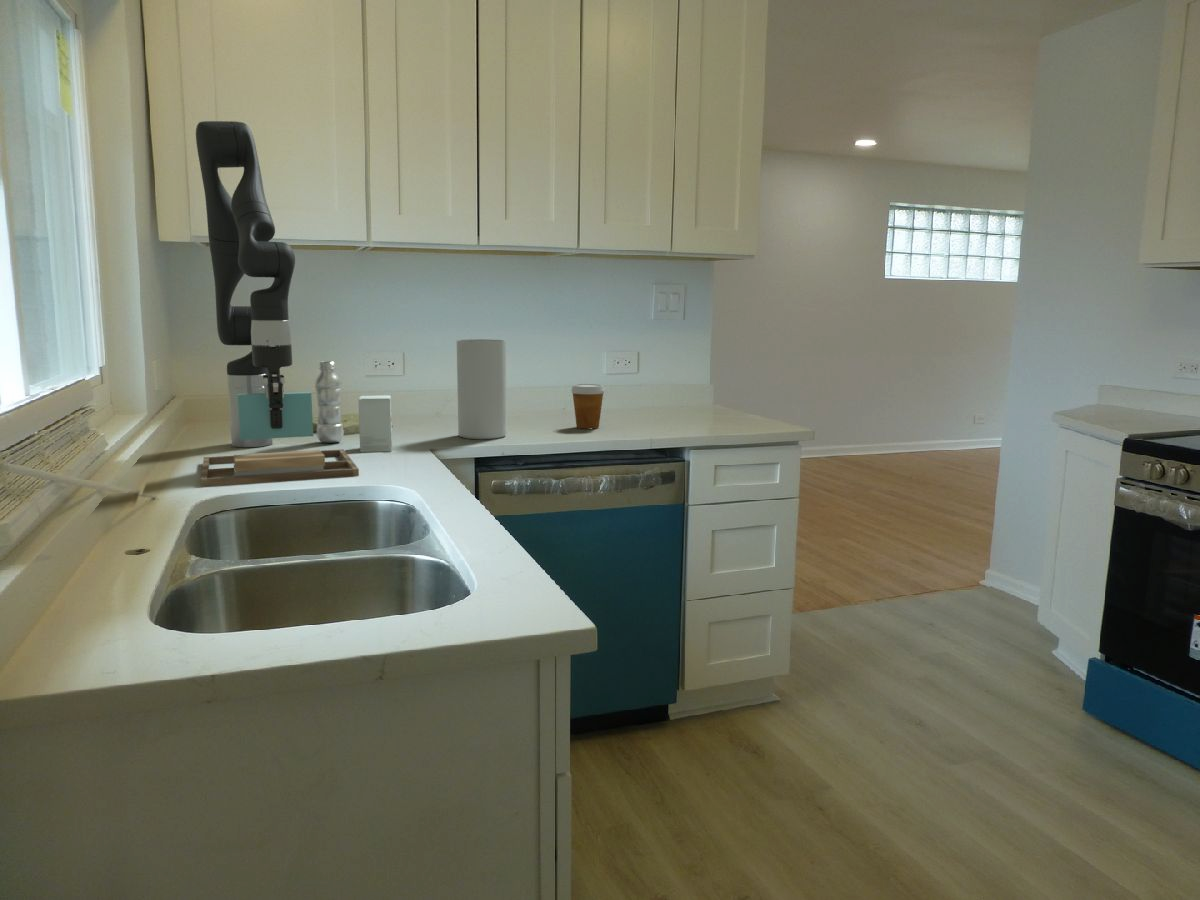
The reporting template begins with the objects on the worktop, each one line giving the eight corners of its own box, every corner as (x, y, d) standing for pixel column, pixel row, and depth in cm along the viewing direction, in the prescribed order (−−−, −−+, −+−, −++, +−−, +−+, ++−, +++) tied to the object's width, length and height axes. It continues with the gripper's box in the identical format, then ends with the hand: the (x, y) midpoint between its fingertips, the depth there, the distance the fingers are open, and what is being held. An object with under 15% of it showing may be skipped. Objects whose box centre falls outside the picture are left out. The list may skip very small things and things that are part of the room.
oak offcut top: (234, 465, 166) (233, 455, 165) (320, 459, 172) (319, 449, 172) (235, 471, 160) (235, 461, 159) (325, 465, 166) (324, 455, 166)
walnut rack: (204, 469, 178) (203, 457, 178) (343, 460, 189) (343, 449, 189) (201, 492, 156) (200, 479, 156) (359, 481, 167) (358, 468, 167)
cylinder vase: (516, 436, 225) (515, 340, 220) (477, 441, 216) (475, 342, 212) (487, 431, 233) (485, 338, 229) (448, 435, 225) (446, 340, 221)
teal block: (240, 438, 175) (237, 394, 173) (312, 434, 180) (310, 391, 179) (240, 439, 172) (237, 395, 171) (313, 436, 178) (311, 393, 176)
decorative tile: (339, 438, 223) (339, 424, 222) (297, 430, 235) (296, 417, 235) (397, 430, 237) (397, 417, 236) (355, 423, 249) (354, 411, 249)
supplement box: (392, 451, 201) (390, 398, 198) (359, 452, 199) (357, 398, 197) (393, 446, 208) (391, 394, 206) (361, 447, 206) (359, 395, 204)
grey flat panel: (234, 475, 166) (233, 464, 166) (320, 469, 173) (319, 459, 172) (234, 482, 160) (233, 471, 160) (323, 476, 166) (323, 466, 166)
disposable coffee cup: (565, 428, 239) (566, 386, 237) (577, 424, 248) (577, 383, 246) (598, 430, 236) (598, 387, 234) (608, 426, 245) (609, 384, 243)
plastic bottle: (343, 439, 217) (339, 360, 213) (345, 444, 211) (341, 362, 207) (316, 441, 215) (312, 361, 211) (317, 445, 208) (313, 363, 205)
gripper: (250, 341, 178) (255, 423, 181) (252, 345, 165) (258, 433, 168) (288, 340, 181) (293, 421, 184) (293, 344, 168) (298, 431, 171)
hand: (276, 426), depth 176 cm, fingers closed on teal block, 2 cm apart
